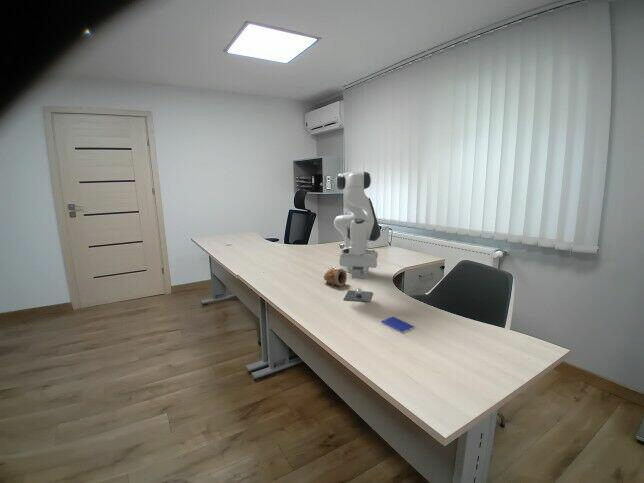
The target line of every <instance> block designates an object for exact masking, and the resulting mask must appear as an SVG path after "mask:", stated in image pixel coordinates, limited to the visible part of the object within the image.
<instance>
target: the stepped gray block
mask: <svg viewBox="0 0 644 483" xmlns="http://www.w3.org/2000/svg"><path fill="white" fill-rule="evenodd" d="M365 268H366V267H352V274H351V279H353V280H354V279H356V280H364V279H365V277H366V275H364V271H365Z"/></svg>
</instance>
